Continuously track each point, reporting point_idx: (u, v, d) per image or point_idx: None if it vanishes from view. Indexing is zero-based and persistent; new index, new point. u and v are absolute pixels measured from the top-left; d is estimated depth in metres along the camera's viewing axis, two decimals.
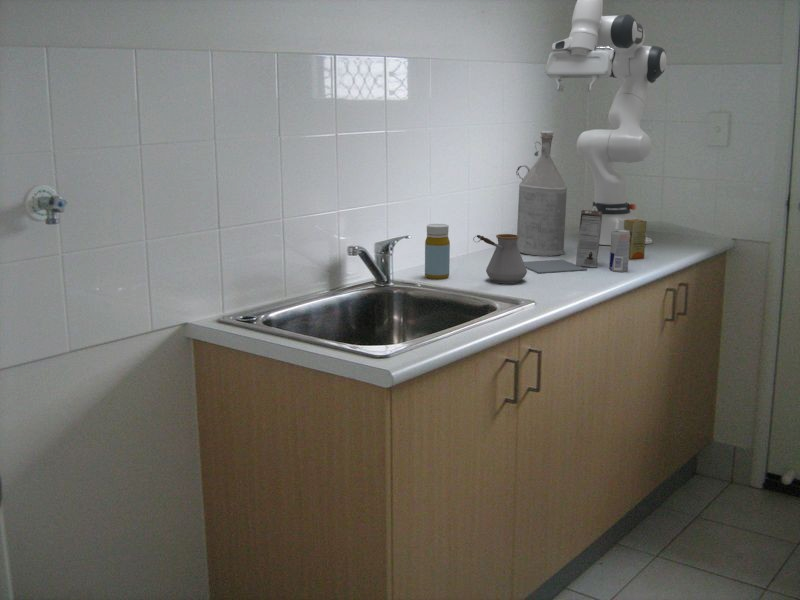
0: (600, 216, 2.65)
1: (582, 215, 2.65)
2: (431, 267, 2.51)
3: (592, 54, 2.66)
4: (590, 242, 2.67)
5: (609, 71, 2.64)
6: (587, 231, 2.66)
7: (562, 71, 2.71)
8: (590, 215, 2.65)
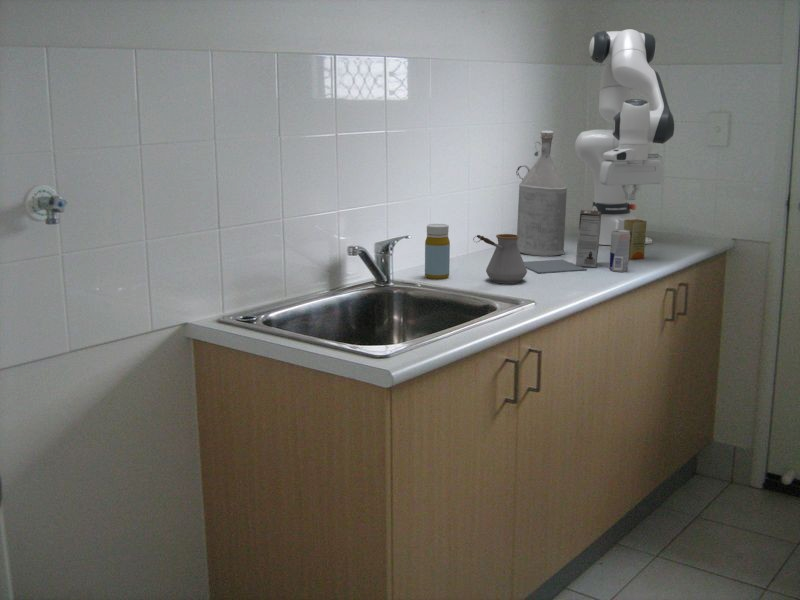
0: (599, 216, 2.65)
1: (581, 215, 2.66)
2: (431, 267, 2.51)
3: (648, 164, 2.69)
4: (590, 241, 2.67)
5: None
6: (586, 231, 2.66)
7: (622, 182, 2.68)
8: (589, 215, 2.65)
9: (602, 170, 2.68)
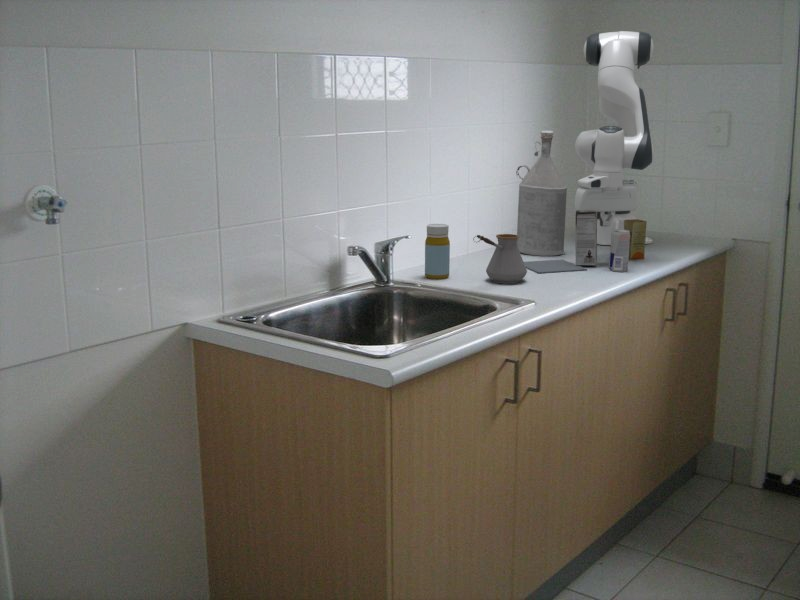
0: (594, 213, 2.65)
1: (576, 214, 2.66)
2: (431, 267, 2.51)
3: (623, 191, 2.69)
4: (587, 240, 2.67)
5: None
6: (583, 230, 2.67)
7: (596, 209, 2.67)
8: (584, 213, 2.66)
9: (577, 197, 2.67)
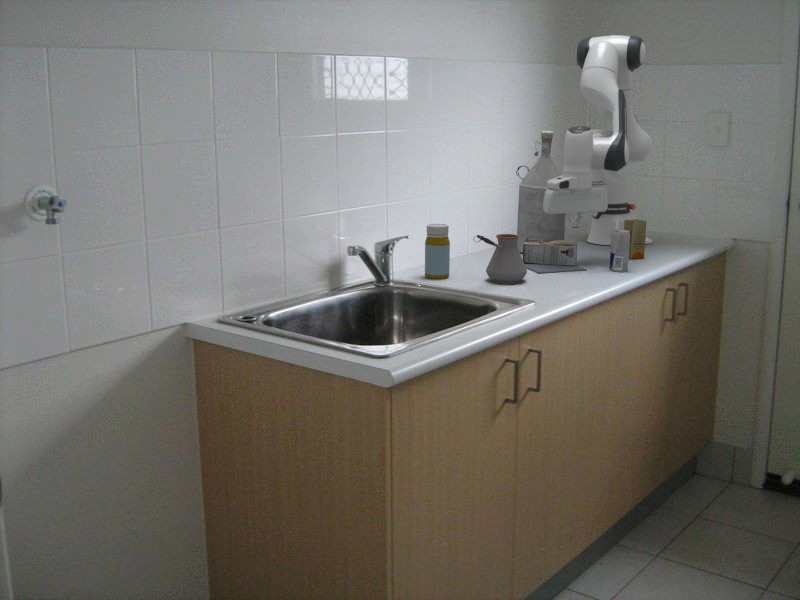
0: (524, 245, 2.71)
1: (524, 262, 2.72)
2: (431, 267, 2.51)
3: (592, 192, 2.66)
4: (550, 253, 2.70)
5: None
6: (540, 256, 2.71)
7: (565, 210, 2.65)
8: (524, 254, 2.72)
9: (545, 198, 2.64)
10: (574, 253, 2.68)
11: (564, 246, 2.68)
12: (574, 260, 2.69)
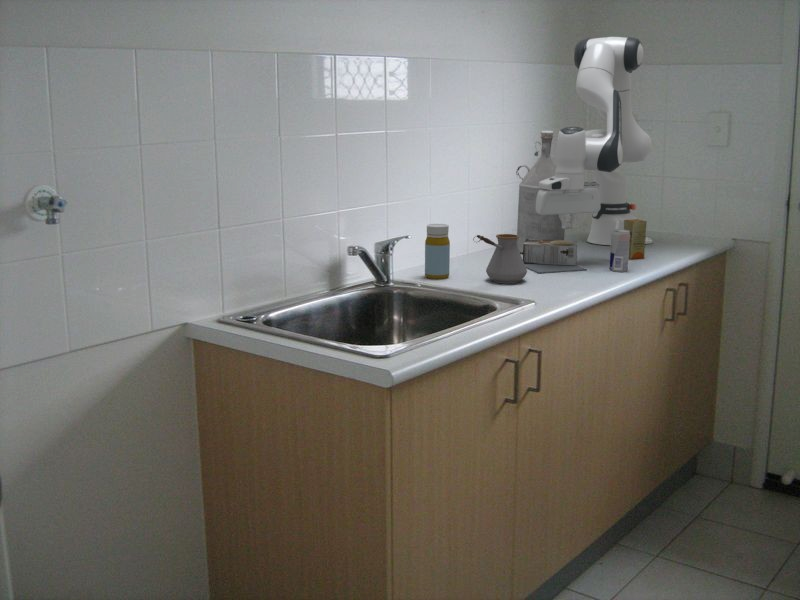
0: (524, 245, 2.71)
1: (524, 262, 2.72)
2: (431, 267, 2.51)
3: (585, 192, 2.65)
4: (550, 253, 2.70)
5: None
6: (540, 256, 2.71)
7: (558, 211, 2.64)
8: (524, 254, 2.72)
9: (538, 199, 2.64)
10: (574, 253, 2.68)
11: (564, 246, 2.68)
12: (574, 260, 2.69)
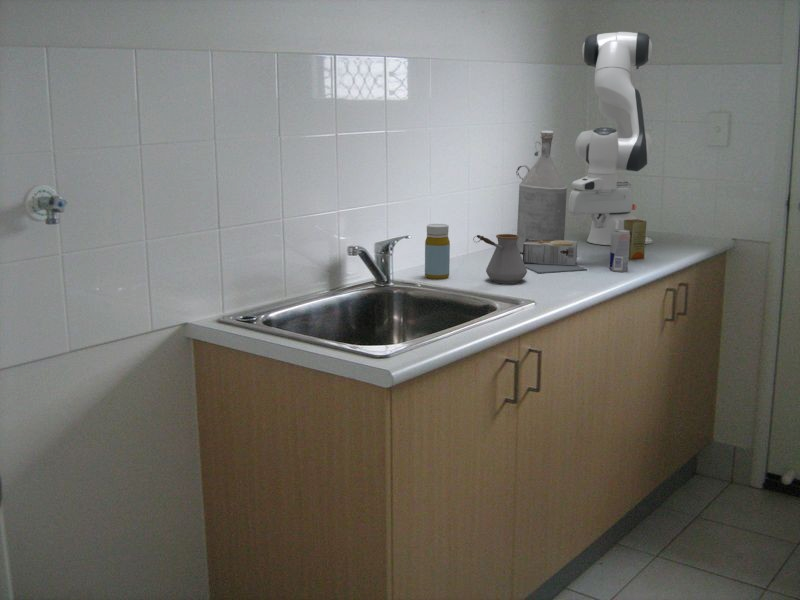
0: (524, 245, 2.71)
1: (524, 262, 2.72)
2: (431, 267, 2.51)
3: (617, 192, 2.69)
4: (550, 253, 2.70)
5: None
6: (540, 256, 2.71)
7: (590, 211, 2.68)
8: (524, 254, 2.72)
9: (571, 199, 2.67)
10: (574, 253, 2.68)
11: (564, 246, 2.68)
12: (574, 260, 2.69)
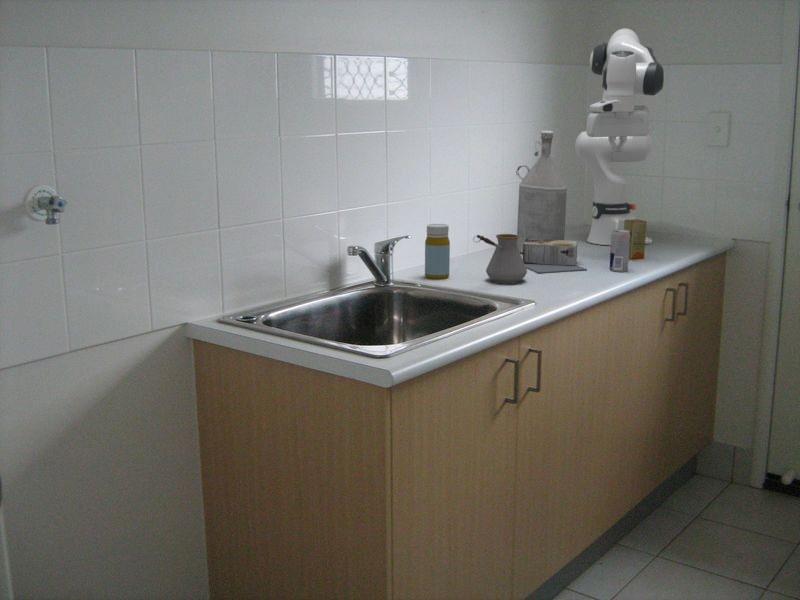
0: (524, 245, 2.71)
1: (524, 262, 2.72)
2: (431, 267, 2.51)
3: (635, 116, 2.71)
4: (550, 253, 2.70)
5: None
6: (540, 256, 2.71)
7: (608, 134, 2.70)
8: (524, 254, 2.72)
9: (589, 122, 2.69)
10: (574, 253, 2.68)
11: (564, 246, 2.68)
12: (574, 260, 2.69)
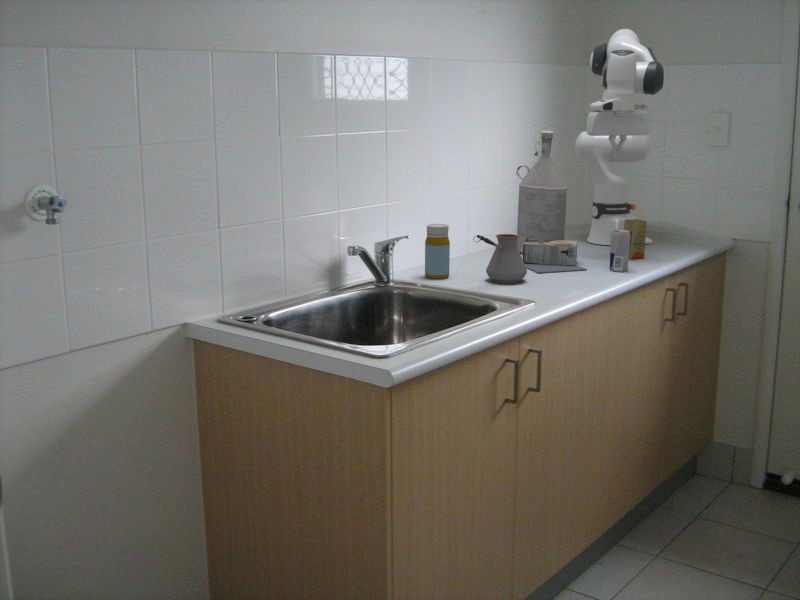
0: (524, 245, 2.71)
1: (524, 262, 2.72)
2: (431, 267, 2.51)
3: (635, 115, 2.71)
4: (550, 253, 2.70)
5: None
6: (540, 256, 2.71)
7: (608, 133, 2.70)
8: (524, 254, 2.72)
9: (589, 121, 2.69)
10: (574, 253, 2.68)
11: (564, 246, 2.68)
12: (574, 260, 2.69)
